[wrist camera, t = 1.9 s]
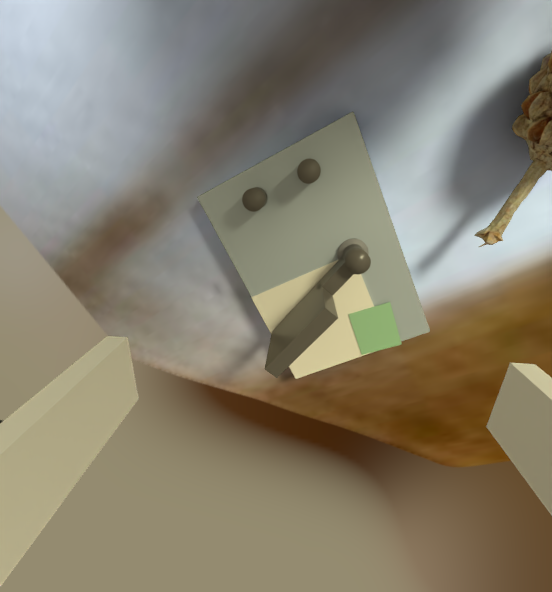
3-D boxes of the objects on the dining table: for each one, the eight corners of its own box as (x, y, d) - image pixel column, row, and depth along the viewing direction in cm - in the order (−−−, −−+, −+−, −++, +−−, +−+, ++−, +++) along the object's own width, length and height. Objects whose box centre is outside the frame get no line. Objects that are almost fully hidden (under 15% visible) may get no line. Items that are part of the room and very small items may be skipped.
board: (202, 196, 35) (187, 199, 30) (350, 115, 31) (358, 104, 26) (296, 370, 43) (296, 393, 38) (424, 325, 39) (441, 345, 34)
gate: (353, 239, 33) (367, 258, 25) (369, 253, 33) (387, 276, 26) (269, 329, 38) (261, 366, 30) (284, 340, 38) (279, 380, 31)
